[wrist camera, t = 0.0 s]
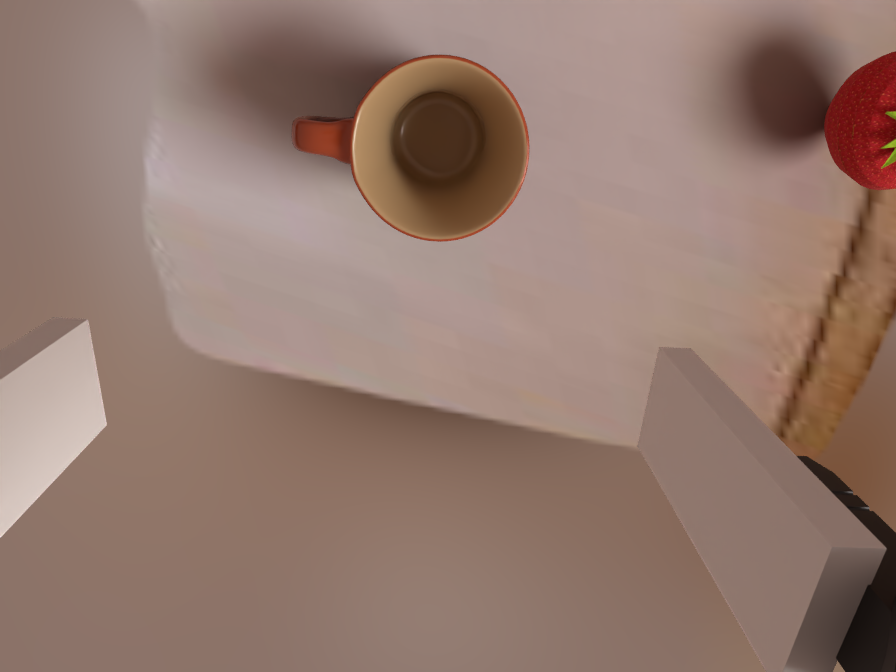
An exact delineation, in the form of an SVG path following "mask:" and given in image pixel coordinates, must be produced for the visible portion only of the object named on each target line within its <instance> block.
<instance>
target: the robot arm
mask: <svg viewBox="0 0 896 672" xmlns="http://www.w3.org/2000/svg"><path fill="white" fill-rule="evenodd" d="M106 425H107V423H106V418H105V412H104V406H103V401H102V395H101V390H100V384H99V379H98V373H97V367H96V362H95V356H94V351H93V345H92V339H91V334H90V328H89V323H88V319H75V318H54V317H53V318H51V319H50V320H48V321H46V322H45V323H43V324H41V325H40V326H38V327H37V328H35V329H33V330H32V331H30V332H29V333H27V334H25V335H24V336H22V337H21V338H19V339H17V340H16V341H14V342H13V343H11V344H9V345H8V346H6V347H5V348H3V349H2V350H0V537H1V536H2V535H3V534H4V533H5V532H6V531H7V530H8V529H9V528H10V527H11V526H12V525H13V524H14V523H15V522H16V520H17V519H18V518H19V517H20V516H21V515H22V514H23V513H24V512H25V511H26V510H27V509H28V508H29V507H30V506H31V505H32V503H34V501H35V500H36V499H37V498H38V497H39V496H40V495H41V494H42V493H43V492H44V491H45V490H46V489H47V488H48V487H49V486H50V484H51V483H52V482H53V481H54V480H55V479H56V478H57V477H58V476H59V475H60V474H61V473H62V472H63V471H64V469H66V468H67V466H68V465H69V464H70V463H71V462H72V461H73V460H74V459H75V458H76V457H77V456H78V455H79V454H80V453H81V451H83V450H84V448H85V447H86V446H87V445H88V444H89V443H90V442H91V441H92V440H93V439H94V438H95V437H96V436H97V435H98V433H100V432H101V430H102V429H103V428H104V427H105V426H106ZM638 448H639V450H640V452H641V453H642V455H643V457H644V459H645V460H646V462H647V464H648V465H649V467H650V469H651V471H652V473H653V474H654V476H655V478H656V480H657V481H658V483H659V485H660V486H661V488H662V490H663V492H664V494H665V495H666V497H667V499H668V501H669V502H670V504H671V506H672V508H673V509H674V511H675V513H676V514H677V516H678V518H679V520H680V522H681V523H682V525H683V527H684V529H685V530H686V532H687V534H688V536H689V537H690V539H691V541H692V543H693V545H694V546H695V548H696V550H697V551H698V553H699V555H700V557H701V559H702V560H703V562H704V564H705V566H706V567H707V569H708V571H709V573H710V574H711V576H712V578H713V580H714V581H715V583H716V585H717V587H718V588H719V590H720V592H721V594H722V595H723V597H724V599H725V601H726V602H727V604H728V606H729V608H730V609H731V611H732V613H733V615H734V616H735V618H736V620H737V622H738V623H739V625H740V627H741V628H742V630H743V632H744V634H745V636H746V637H747V639H748V641H749V643H750V644H751V646H752V648H753V650H754V651H755V653H756V655H757V657H758V658H759V660H760V662H761V664H762V665H763V667H764V669H765V671H766V672H833V670H834V667H835V665H836V662H837V660H838V662H839V663H840V665H841V666H842V667H843V669H844V670H845V672H896V533H895V532H894V531H893V530H892V529H891V528H890V527H889V526H888V525H887V524H886V523H885V522H884V521H883V520H882V519H881V518H880V517H879V516H878V515H877V514H876V513H875V512H873V511H869V506H868V505H866V504H865V503H864V502H863V501H862V500H861V499H860V498H859V497H858V496H857V495H853V491H852V490H851V489H850V488H849V487H848V486H847V485H846V484H845V483H844V482H843V481H842V480H840V478H838V477H837V476H836V475H835V474H834V473H833V472H832V471H830V470H828V469H827V468H825V467H823V466H822V465H820V464H818V463H817V462H815V461H813V460H812V459H810V458H809V457H807V456H796V455H795V454H794V453H793V452H792V451H791V450H790V449H789V448H788V447H787V446H786V445H785V444H784V443H783V442H782V441H781V440H780V439H779V438H778V437H777V436H776V435H775V434H774V433H773V432H772V431H771V430H770V429H769V428H768V427H767V426H766V425H765V424H764V423H763V422H762V421H761V420H760V419H759V418H758V417H757V416H756V415H755V414H754V412H753V411H752V410H751V409H750V408H749V407H748V406H747V405H746V404H745V403H744V402H743V401H742V400H741V399H740V398H739V397H738V396H737V395H736V394H735V393H734V392H733V391H732V390H731V389H730V388H729V387H728V386H727V385H726V384H725V383H724V382H723V381H722V380H721V379H720V378H719V377H718V376H717V375H716V374H715V373H714V372H713V371H712V370H711V369H710V368H709V367H708V366H707V365H706V364H705V363H704V361H703V360H702V359H701V358H700V357H699V356H698V355H697V354H696V353H695V352H694V351H693V350H692V349H690V348H669V347H659V350H658V354H657V359H656V364H655V368H654V373H653V377H652V382H651V386H650V391H649V396H648V400H647V405H646V409H645V414H644V418H643V423H642V428H641V432H640V437H639V441H638Z"/></svg>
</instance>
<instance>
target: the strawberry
mask: <svg viewBox="0 0 896 672" xmlns="http://www.w3.org/2000/svg"><path fill="white" fill-rule="evenodd" d="M824 131H825V137H826V141H827V144H828V148H829V151H830V154H831V156H832V158H833V160H834V162H835V163H836V165H837V166H838V167H839V168H840V169H841V170H842V171H843V172H844V173H846V174H847V175H848V176H849V177H851V178H852V179H853V180H854V181H856V182H857V183H858V184H860V185H861V186H864V187H866V188H869V189H875V190H885V189H896V52H891V53H889V54H886V55H884V56H882V57H880V58H878V59H876V60H874V61H872V62H870V63H868V64H866V65H864V66H862V67H861V68H860V69H858V70H857V71H855V72H854V73H853V74H852V75H851V76H850V77H849V78H848V79H847V80H846V81H845V82H844V84H843V85H842V86H841V88H840V89H839V91H838V92H837V94H836V95H835V97H834V98H833V100H832V102H831V104H830V106H829V108H828V110H827V113H826V117H825V124H824Z"/></svg>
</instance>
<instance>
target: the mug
mask: <svg viewBox="0 0 896 672" xmlns="http://www.w3.org/2000/svg"><path fill="white" fill-rule="evenodd" d="M292 142H293V145H294V147H295V148H296V149H297V150H299V151H302V152H306V153H311V154H317V155H324V156H329V157H332V158H335V159H337V160H339V161H341V162H344V163H347V164H351V170H352V175H353V178H354V181H355V183H356V185H357V187H358V189H359V191H360V193H361V194H362V196H363V197H364V199H365V200H366V202H367V203H368V205H369V206H370V207H371V209H372V210H373V211H374V212H375V213H376V214H377V215H378V216H379V217H380V218H381V219H382V220H383V221H384V222H386V223H387V224H388V225H390V226H391V227H393V228H394V229H396V230H398V231H400V232H402V233H404V234H406V235H408V236H411V237H414V238H418V239H422V240H428V241H452V240H458V239H462V238H466V237H468V236H471V235H474V234H476V233H478V232H480V231H482V230H484V229H485V228H487V227H488V226H490V225H491V224H493V223H494V222H495V221H496V220H497V219H499V218H500V217H501V216H502V215H503V214H504V213H505V212H506V210H507V209H508V208H509V207H510V205H511V204H512V203H513V201H514V200H515V198H516V196H517V194H518V193H519V191H520V189H521V186H522V184H523V181H524V178H525V175H526V171H527V167H528V160H529V136H528V130H527V125H526V121H525V118H524V115H523V113H522V110H521V108H520V106H519V104H518V102H517V100H516V99H515V97H514V95H513V94H512V92H511V91H510V90H509V88H508V87H507V86H506V85H505V84H504V83H503V82H502V81H501V80H500V79H499V78H498V77H497V76H496V75H495V74H494V73H492V72H491V71H489V70H488V69H486V68H485V67H483V66H481V65H479V64H478V63H475V62H473V61H471V60H468V59H465V58H461V57H457V56H451V55H428V56H422V57H418V58H414V59H411V60H408V61H406V62H403V63H401V64H399V65H398V66H396V67H394V68H393V69H391V70H389V71H388V72H387V73H386V74H384V75H383V76H382V77H381V78H380V79H379V80H378V81H377V82H376V83H375V84H374V85H373V86H372V87H371V88H370V89H369V91H368V92H367V93H366V94H365V96H364V97H363V99H362V100H361V102H360V103H359V105H358V107H357V110H356V112H355V115H354V117H350V118H335V117H322V116H302V117H298V118H296V119H295V120H294V121H293V124H292Z"/></svg>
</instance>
